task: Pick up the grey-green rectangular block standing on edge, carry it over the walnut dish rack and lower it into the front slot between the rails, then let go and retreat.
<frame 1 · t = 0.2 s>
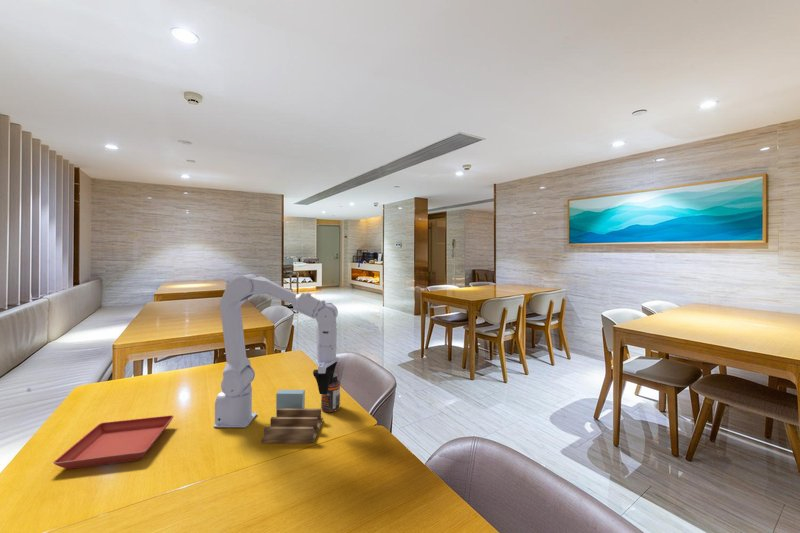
hand: (325, 388, 100), 10 cm above the table, fingers open, 7 cm apart
grey-green rectangular block: (290, 413, 105), on the table
rack: (294, 431, 94), on the table
supplement bottle: (330, 409, 108), on the table
plant saucer: (121, 448, 85), on the table
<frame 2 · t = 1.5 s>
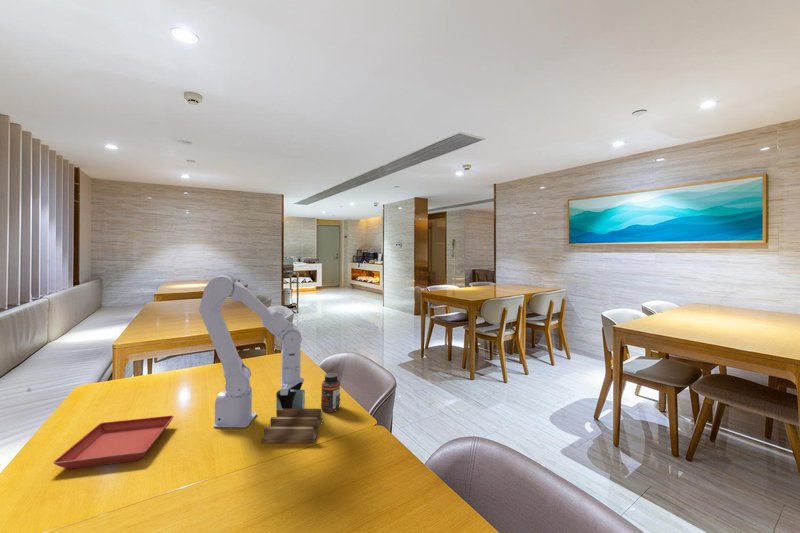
hand: (290, 407, 104), 2 cm above the table, fingers open, 7 cm apart
nothing on the table moved.
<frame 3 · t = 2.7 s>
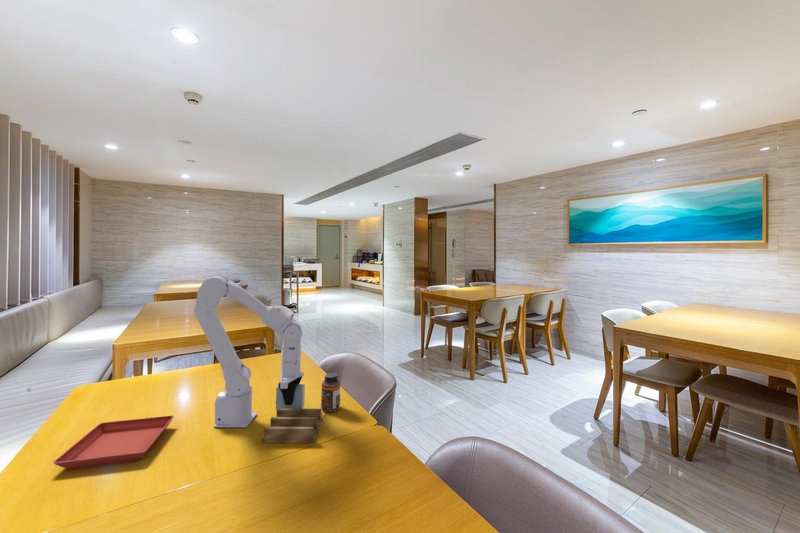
hand: (290, 401, 104), 4 cm above the table, fingers closed on grey-green rectangular block, 3 cm apart
grey-green rectangular block: (290, 407, 104), point 2 cm above the table, touching gripper
everything else where it was.
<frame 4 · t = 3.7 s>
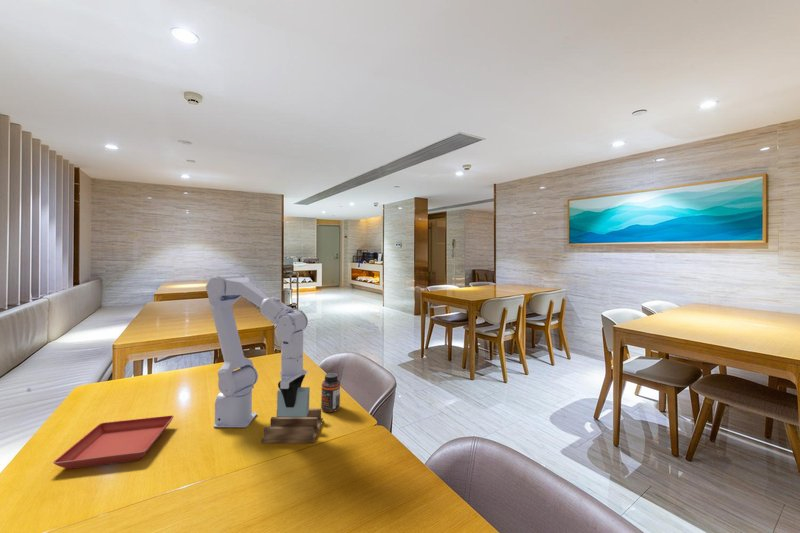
hand: (292, 403, 92), 9 cm above the table, fingers closed on grey-green rectangular block, 3 cm apart
grey-green rectangular block: (293, 414, 92), point 6 cm above the table, touching gripper
everything else where it was.
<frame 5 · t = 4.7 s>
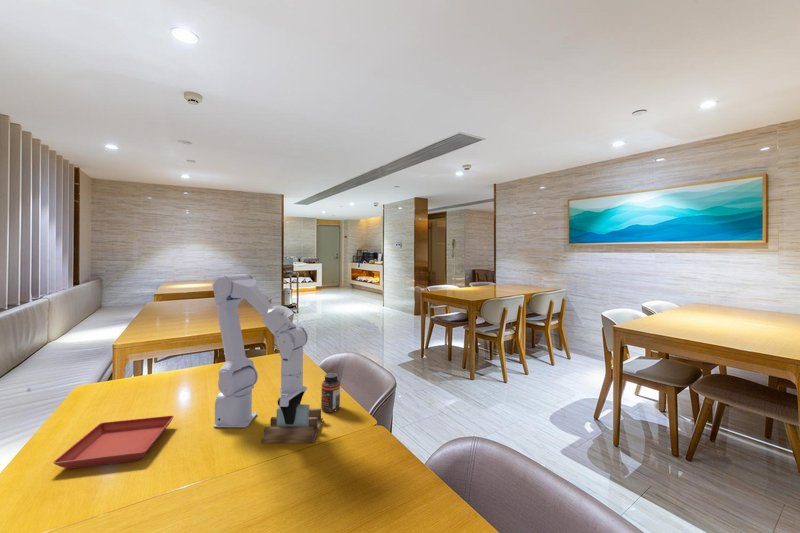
hand: (291, 420, 91), 5 cm above the table, fingers closed on grey-green rectangular block, 3 cm apart
grey-green rectangular block: (292, 431, 92), point 1 cm above the table, touching gripper
everything else where it was.
when the fingers open (4 cm above the table, at t = 5.3 s): grey-green rectangular block stays where it is, resting on rack.
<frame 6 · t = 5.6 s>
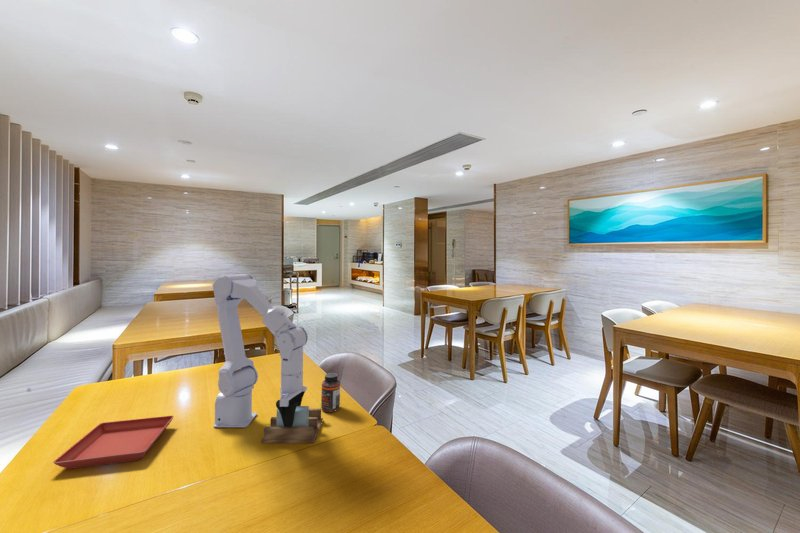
hand: (291, 420, 91), 5 cm above the table, fingers open, 6 cm apart
grey-green rectangular block: (292, 433, 92), point 1 cm above the table, touching rack
everything else where it was.
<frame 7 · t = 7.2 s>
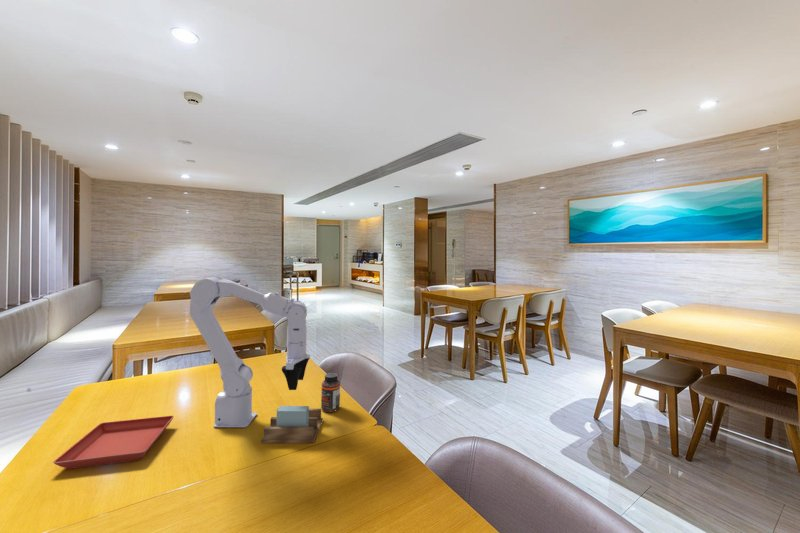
hand: (296, 384, 103), 10 cm above the table, fingers open, 7 cm apart
nothing on the table moved.
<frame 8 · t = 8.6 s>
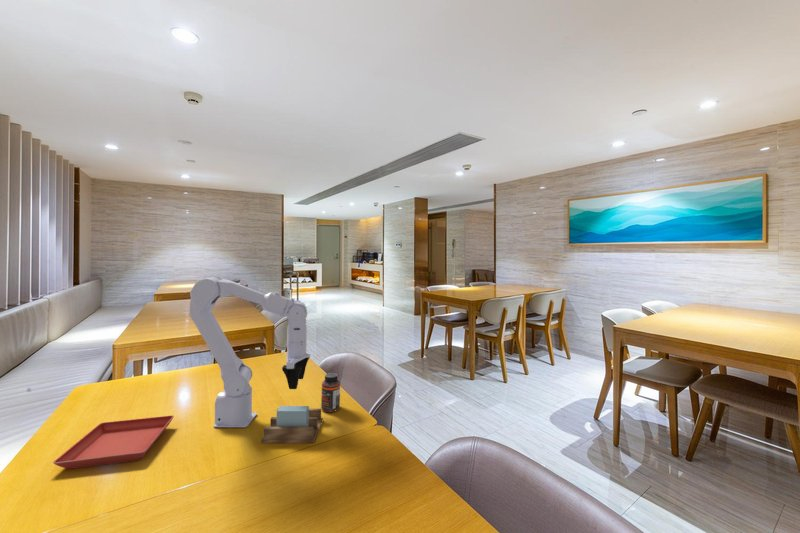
hand: (296, 383, 103), 10 cm above the table, fingers open, 7 cm apart
nothing on the table moved.
at the end: grey-green rectangular block 0.4 cm from the target spot on the rack, point 0.8 cm above the rack's base; grey-green rectangular block tilted 0°; the gripper is holding nothing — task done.
